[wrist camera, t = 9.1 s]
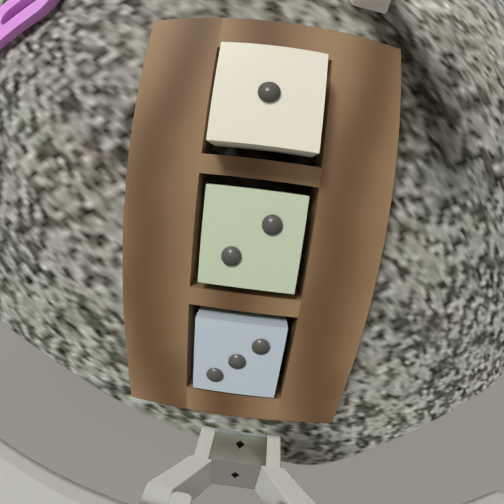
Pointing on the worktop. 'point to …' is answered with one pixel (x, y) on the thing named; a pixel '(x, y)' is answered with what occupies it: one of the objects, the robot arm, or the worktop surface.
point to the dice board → (318, 177)
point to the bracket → (21, 17)
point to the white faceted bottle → (372, 5)
